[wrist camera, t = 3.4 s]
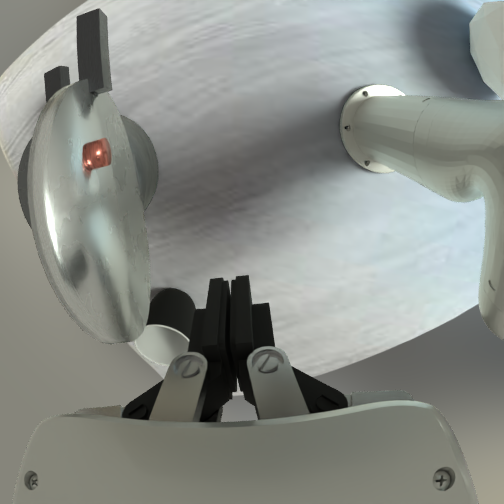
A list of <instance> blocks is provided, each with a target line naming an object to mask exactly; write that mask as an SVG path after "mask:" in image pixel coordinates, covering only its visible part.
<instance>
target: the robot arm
mask: <svg viewBox="0 0 504 504" xmlns="http://www.w3.org/2000/svg"><path fill="white" fill-rule="evenodd" d="M362 92H363V93H364V95H362ZM345 126H347V129H345ZM340 133H341V138H342V141H343V144H344V147H345V148H346V150H347V152H348V154H349V155H350V156H351V157H352V158H353V160H354V161H356V162H357V163H358V164H359V165H360V166H362V167H364V168H366V169H368V170H370V171H373V172H377V173H390V172H395V171H396V172H398V173H400V174H402V175H404V176H406V177H408V178H410V179H411V180H413V181H415V182H417V183H419V184H420V185H422V186H424V187H426V188H428V189H429V190H431V191H433V192H435V193H437V194H438V195H440V196H442V197H444V198H446V199H448V200H451V201H454V202H463V203H465V202H471V201H474V200H477V199H480V198H482V197H483V196H484V200H485V240H484V251H483V259H482V267H481V275H480V283H479V295H478V298H479V308H480V311H481V315H482V318H483V320H484V322H485V323H486V325H487V326H488V328H489V329H490V330H491V331H492V332H493V333H494V334H495V335H496V336H498V337H499V338H500V339H502V340H504V100H475V99H463V98H452V97H435V96H412V95H404V94H403V93H402V92H400V91H399V90H397V89H395V88H393V87H391V86H387V85H382V84H375V85H368V86H365V87H362V88H360V89H359V90H357V91H356V92H354V93H353V94H352V95H351V96H350V97H349V98H348V100H347V102H346V103H345V105H344V107H343V110H342V112H341V118H340ZM365 160H366V163H364V162H365ZM237 378H238V383H239V387H240V391H241V392H242V391H243V393H244V397H245V400H246V401H248V402H249V403H251V404H252V405H254V406H255V410H256V414H257V418H258V420H254V421H240V422H239V421H238V422H221V418H222V413H223V405H224V404H225V403H226V402H228V401H229V399H232V392H237ZM12 504H479V503H478V499H477V495H476V491H475V488H474V484H473V482H472V478H471V475H470V472H469V469H468V466H467V463H466V460H465V457H464V455H463V452H462V450H461V447H460V445H459V443H458V440H457V438H456V436H455V434H454V432H453V430H452V428H451V426H450V425H449V423H448V421H447V420H446V418H445V417H444V416H443V414H442V413H441V412H440V411H439V410H438V409H436V408H435V407H434V406H432V405H430V404H427V403H423V402H418V401H414V399H413V397H412V396H411V395H410V394H409V393H407V392H405V391H401V390H393V391H374V392H352V394H351V395H344V394H342V393H341V392H339V391H338V390H336V389H334V388H332V387H330V386H327V385H326V384H324V383H322V382H320V381H318V380H316V379H314V378H313V377H311V376H309V375H307V374H305V373H303V372H301V371H300V370H298V369H296V368H294V367H292V366H291V365H290V362H289V359H288V357H287V355H286V353H285V352H284V351H282V350H281V349H279V348H277V347H275V343H274V336H273V328H272V321H271V314H270V307H269V303H262V304H252V298H251V290H250V282H249V275H245V276H236V280H232V281H231V294H230V288H229V283H228V281H224V280H223V278H215V279H210V283H209V290H208V297H207V304H206V309H196V310H195V312H194V317H193V322H192V328H191V334H190V339H189V345H188V351H187V352H186V353H182V354H180V355H178V356H176V357H175V358H174V359H173V360H172V362H171V363H170V366H169V368H168V371H167V373H166V376H165V378H164V380H162V381H161V382H159V383H158V384H156V385H155V386H153V387H152V388H151V389H149V390H148V391H147V392H145V393H143V394H142V395H140V396H139V397H137V398H136V399H134V400H133V401H131V402H130V403H129V404H128V405H126V407H122V406H121V405H117V406H107V407H97V408H84V409H79V410H78V411H76V412H75V413H72V414H61V415H56V416H52V417H49V418H47V419H45V420H43V421H42V422H40V424H39V425H38V426H37V427H36V429H35V430H34V432H33V434H32V436H31V439H30V441H29V443H28V446H27V448H26V451H25V454H24V457H23V460H22V463H21V466H20V470H19V474H18V478H17V482H16V487H15V491H14V496H13V501H12Z"/></svg>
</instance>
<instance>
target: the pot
mask: <svg viewBox="0 0 504 504" xmlns="http://www.w3.org/2000/svg"><path fill="white" fill-rule="evenodd" d="M44 79H45V92H46V101H47V102H48V100H49V99H50V98H51V97H52V96H53V95H54V94H55V93H56V92H57V91H58V90H60V89H61V88H63V87H65V86H67V85H70V79H69V67H65V66H58V67H56V68H54V69H52V70H50V71H48V72H46V73H45V74H44ZM120 117H121V120H122V122H123V125H124V128H125V131H126V134H127V137H128V141H129V144H130V148H131V152H132V153H134V156H135V161H136V167H137V172H138V176H139V181H140V186H141V191H142V195H143V200H144V202H143V203H142V204H143V210H144V211H145V209H146V208H147V207H148V205H149V204H150V202H151V200H152V198H153V196H154V193H155V190H156V187H157V182H158V161H157V157H156V152H155V150H154V147H153V144H152V143H151V141H150V139H149V137H148V136H147V134H146V133H145V132H144V130H143V129H142V128H141V127H140V126H139V125H138V124H136V123H135V122H134V121H132V120H131V119H129V118H127V117H125V116H122V115H120ZM32 138H33V137H32ZM31 142H32V139H31V140H30V141H29V143H28V145H27V146H26V148H25V150H24V153H23V155H22V158H21V162H20V165H19V171H18V193H19V199H20V203H21V207H22V210H23V213H24V216H25V218H26V220H27V222H28V224H29V225H30V227H31V220H30V213H29V205H28V187H27V172H28V162H29V153H30V147H31ZM31 229H32V227H31Z"/></svg>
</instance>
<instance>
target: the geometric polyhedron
mask: <svg viewBox="0 0 504 504" xmlns="http://www.w3.org/2000/svg"><path fill="white" fill-rule="evenodd" d="M469 28H470V53H471V55H472V57H473V59H474V61H475V64H476V66H477V68H478V70H479V72H480V75H481V77H482V79H483V82H484V83H485V84H486V85H488V86H489V87H490V88H491V89H492V90H493V91H494V92H495V93H496V94H497V95H498V96H499V97H500V98H501V99H502V100H504V1H498V2H487V3H483V5H482V6H481V8H480V9H479V10H478V12H477V13H476V15H475V16H474V17H473V19H472V20H471V22H470V23H469Z"/></svg>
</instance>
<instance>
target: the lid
mask: <svg viewBox="0 0 504 504" xmlns="http://www.w3.org/2000/svg"><path fill="white" fill-rule="evenodd" d="M77 55H78V71H79V81H78V82H75V83H73V84H70V85H67V86H65V87H63V88H61V89H60V90H58V91H57V92H56V93H55V94H54V95H53V96H52V97H51V98H50V99H49V100H48V102H47V104H46V105H45V107H44V109H43V110H42V112H41V114H40V117H39V119H38V122H37V124H36V127H35V130H34V134H33V138H32V142H31V147H30V153H29V162H28V172H27V187H28V205H29V213H30V220H31V227H32V231H33V235H34V239H35V244H36V247H37V251H38V255H39V257H40V260H41V263H42V265H43V268H44V271H45V273H46V275H47V278H48V280H49V283H50V285H51V286H52V288H53V290H54V292H55V294H56V296H57V298H58V299H59V301H60V303H61V304H62V306H63V307H64V309H65V310H66V311H67V313H68V314H69V316H70V317H71V318H72V319H73V320H74V322H75V323H76V324H77V325H78V326H79V327H80V328H81V329H82V330H83V331H84V332H86V333H87V334H88V335H90V336H91V337H92V338H94V339H96V340H98V341H100V342H102V343H106V344H117V343H125V342H131V341H135V340H136V339H138V338H139V337H140V336H141V334H142V333H143V331H144V329H145V327H146V323H147V320H148V315H149V308H150V293H151V279H150V260H149V248H148V239H147V231H146V223H145V217H144V210H143V204H142V203H143V202H144V200H143V195H142V191H141V186H140V181H139V176H138V172H137V167H136V161H135V156H134V153H132V152H131V148H130V144H129V141H128V137H127V134H126V131H125V128H124V125H123V122H122V120H121V117H120V114H119V112H118V110H117V108H116V106H115V104H114V102H113V100H112V98H111V96H110V95H109V93H108V91H111V90H112V83H111V74H110V62H109V49H108V29H107V16H106V15H105V14H104V13H103V12H102V11H101V9H100V8H99V9H96V10H93V11H90V12H87V13H85V14H82V15H79V16H77Z"/></svg>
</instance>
